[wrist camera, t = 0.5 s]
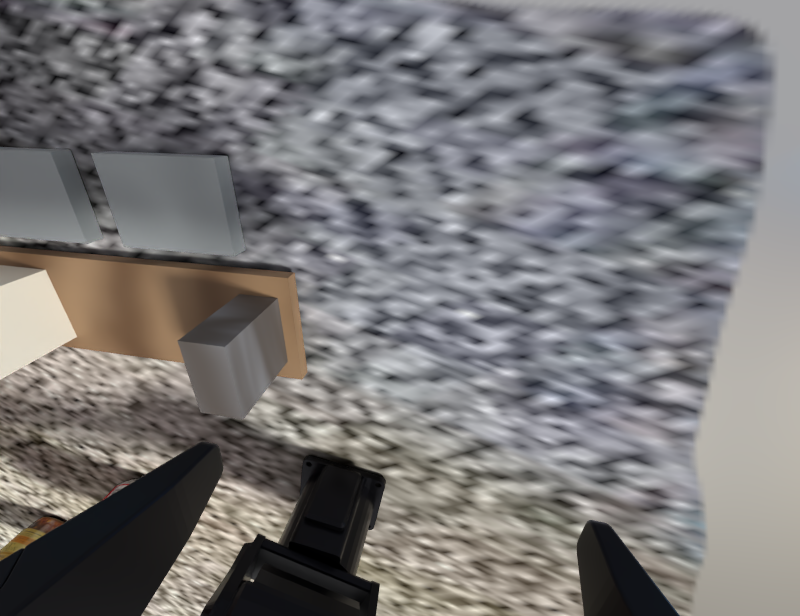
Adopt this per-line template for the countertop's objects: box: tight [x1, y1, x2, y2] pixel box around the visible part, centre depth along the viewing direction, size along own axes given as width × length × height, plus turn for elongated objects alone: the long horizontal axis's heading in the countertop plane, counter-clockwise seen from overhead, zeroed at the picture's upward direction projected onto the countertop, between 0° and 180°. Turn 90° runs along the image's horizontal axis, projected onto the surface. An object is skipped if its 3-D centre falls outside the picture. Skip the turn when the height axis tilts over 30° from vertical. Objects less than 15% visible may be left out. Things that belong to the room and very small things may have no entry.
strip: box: [0, 246, 307, 419], centre depth 22 cm, size 22×7×6 cm, turn 89°
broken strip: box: [0, 147, 246, 256], centre depth 21 cm, size 17×5×1 cm, turn 89°
